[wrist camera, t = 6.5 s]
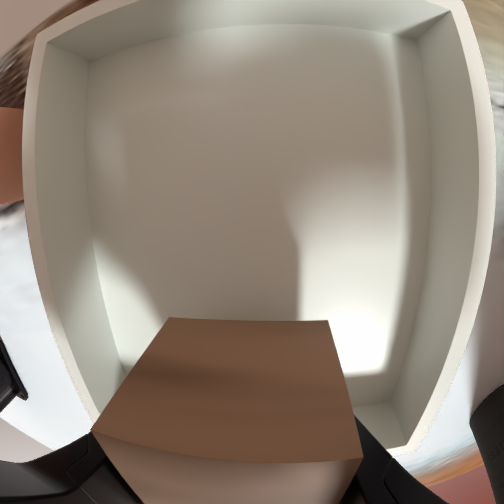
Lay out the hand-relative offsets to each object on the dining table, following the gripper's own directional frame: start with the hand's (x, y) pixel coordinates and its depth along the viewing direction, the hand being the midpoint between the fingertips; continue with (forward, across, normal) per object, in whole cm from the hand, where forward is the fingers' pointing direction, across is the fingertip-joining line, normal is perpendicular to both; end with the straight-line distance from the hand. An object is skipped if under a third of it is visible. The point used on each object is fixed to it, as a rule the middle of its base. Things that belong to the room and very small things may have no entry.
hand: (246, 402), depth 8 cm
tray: (+4, 0, -4) cm, 6 cm away
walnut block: (+1, 0, 0) cm, 1 cm away
